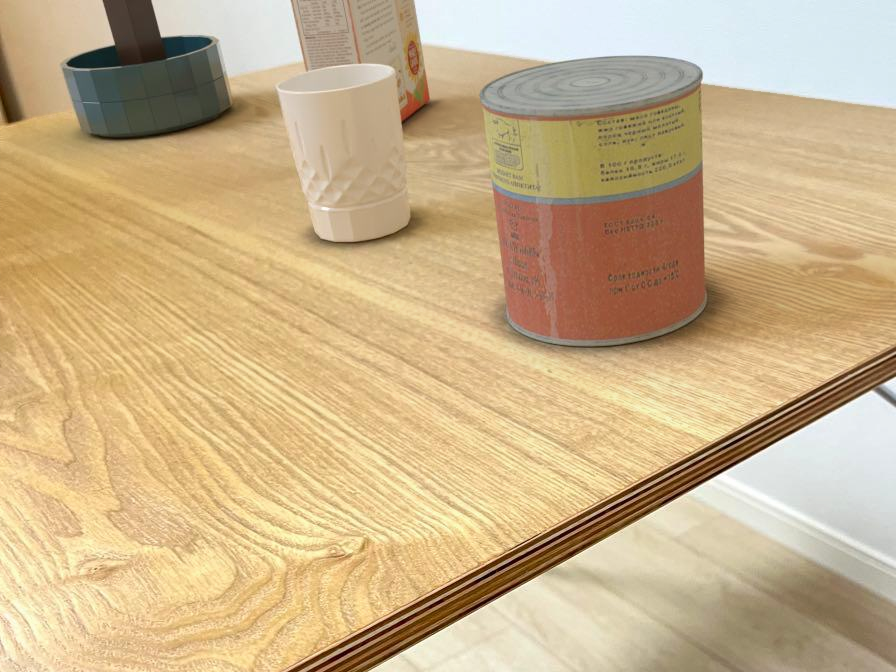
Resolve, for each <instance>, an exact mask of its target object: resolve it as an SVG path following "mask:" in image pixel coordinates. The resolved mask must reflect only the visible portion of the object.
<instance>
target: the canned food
mask: <svg viewBox="0 0 896 672" xmlns="http://www.w3.org/2000/svg"><path fill="white" fill-rule="evenodd" d="M703 79H704V72H703V70H702V68H701V67H700V66H699V65H697V64H695V63H693V62H691V61H689V60H685V59H681V58H680V59H679V58H675V57H668V56H657V55H656V56H655V55H610V56H609V55H608V56H607V55H606V56H594V57H585V58H576V59H569V60H563V61H555V62H550V63H546V64H541V65H536V66H531V67H527V68H523V69H520V70H516V71H514V72H511V73H507V74H504V75H502V76H500V77H498V78H495V79H493V80H492V81H489V82H488V83H486V84H485V85H484V86H483V87H482V88H481V90H479V94H478V95H479V101H480V103H481V104H482V112H483V120H484V128H485V137H486V144H487V145H486V146H487V153H488V161H489V168H490V169H489V170H490V177H491V185H492V186H491V187H492V195H493V202H494V203H493V204H494V209H495V210H494V211H495V218H496V228H497V234H498V243H499V252H500V258H501V268H502V275H503V283H504V290H505V291H504V293H505V300H506V301H505V302H506V308H505V314H506V319H507V322H508V323H509V324H510V326H511V327H512V329H515V330H516V331H517V332H518V333H520V334H522V335H524V336H526V337H528V338H531V339H533V340H536V341H540V342H543V343H547V344H554V345H560V346H567V347H608V346H618V345H627V344H631V343H637V342H643V341H646V340H650V339H654V338H657V337H661V336H664V335H666V334H669V333H672V332H674V331H676V330H679V329H681V328H683V327H685V326H686V325H688V324H689V323H691V322H692V321H694V320H695V319H696V318H697V317H698V316H699V315H700V314H702V312H703V311H704V310H705V307H706V305H707V302H708V294H707V290H706V289H707V288H706V266H705V265H706V261H705V260H706V259H705V219H704V213H705V212H704V209H705V208H704V168H703V166H704V165H703V164H704V163H703V118H702V117H703V115H702V114H703V113H702V111H703V110H702V81H703Z"/></svg>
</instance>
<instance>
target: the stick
mask: <svg viewBox="0 0 896 672" xmlns="http://www.w3.org/2000/svg"><path fill="white" fill-rule="evenodd" d="M101 1H102V4H103V8H104V11H105V15H106V18H107V22H108V25H109V29H110V32H111V36H112V39H113V43H114V44H115V46H116V50H117V53H118V57H119V60H120V64H121V66H128V65H135V64H142V63H148V62H153V61H159V60H164V59H167V58H166V54H165V50H164V46H163V42H162V39H161V37H162V35H161V30H160V28H159V23H158V20H157V16H156V12H155V8H154V4H153V1H152V0H101Z"/></svg>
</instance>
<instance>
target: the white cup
mask: <svg viewBox="0 0 896 672" xmlns="http://www.w3.org/2000/svg"><path fill="white" fill-rule="evenodd" d="M274 88H275V92H276V96H277V99H278V103H279V107H280V111H281V114H282V118H283V122H284V126H285V129H286V133H287V137H288V141H289V146H290V149H291V154H292V158H293V160H294V161H293V162H294V164H295V169H296V170H297V174H298V176H299V177H298V178H299V181H300V186H301V189H302V192H303V195H304V198H305V199H306V200H307V206H308V207H307V208H308V211H309V215H310V219H311V222H312V226H313V230H314V233H315V234H316V235H317V236H318V237H319V238H320V239H321V240H324V241H329V242H334V243H356V242H363V241H369V240H375V239H379V238H383V237H386V236H388V235H392V234H395V233H396V232H398V231H400V230H402V229H403V228H405V227H406V226H408V224H409V223H410V220H411V217H412V216H411V206H410V200H409V192H408V186H407V183H408V171H407V170H408V169H407V162H406V149H405V141H404V139H405V138H404V132H403V125H402V124H403V123H402V122H401V115H400V107H399V98H398V90H397V81H396V72H395V69H394V68H393V67H391V66H388V65H383V64H349V65H340V66H332V67H326V68H320V69H315V70H311V71H307V72H306V71H302V72H299V73H296V74H293V75H290V76H287V77H285V78H283V79H281V80H280V81H278V82H276V84H275V86H274Z"/></svg>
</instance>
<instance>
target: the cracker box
mask: <svg viewBox="0 0 896 672" xmlns="http://www.w3.org/2000/svg"><path fill="white" fill-rule="evenodd" d="M415 2H416V1H415V0H290V4H291V9H292V14H293V19H294V24H295V27H296V33H297V37H298V42H299V46H300V51H301V57H302V60H303V65H304V70H305V72H307V71H311V70H315V69H320V68H326V67H332V66H340V65H349V64H383V65H388V66H391V67H393V68H394V69H395V72H396V81H397V90H398V98H399V107H400V115H401V123H402V122H404V121H405V120H406V119H408V118H409V117H410V116H411V115H413V114H414V113H415V112H416V111H418V110H419V109H420V108H422V107H423V106H424V105H425V104H427V103H428V102H429V101H430V99H431V98H430V91H429V84H428V79H427V73H426V66H425V58H424V53H423V52H424V51H423V46H422V39H421V33H420V27H419V22H418V15H417V9H416V3H415Z"/></svg>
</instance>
